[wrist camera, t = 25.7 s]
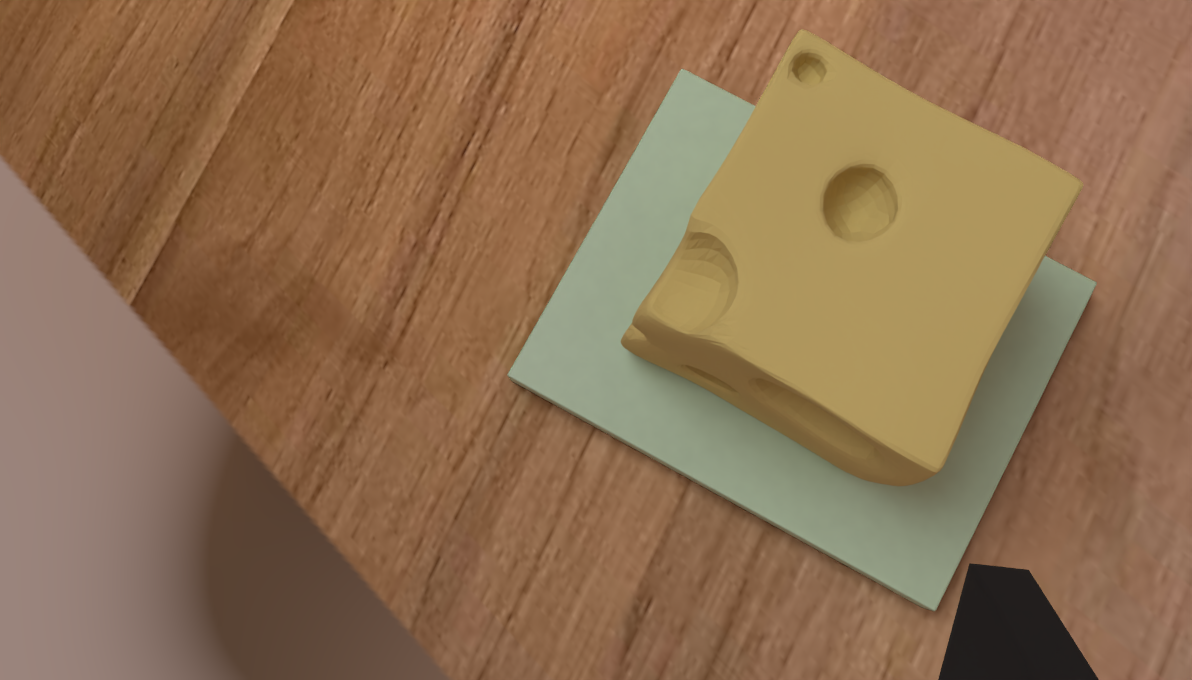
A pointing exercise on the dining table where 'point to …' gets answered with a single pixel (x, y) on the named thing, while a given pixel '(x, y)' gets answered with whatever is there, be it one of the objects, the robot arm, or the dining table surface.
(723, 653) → the dining table surface
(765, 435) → the board
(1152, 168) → the dining table surface
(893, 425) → the cheese
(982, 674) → the robot arm
